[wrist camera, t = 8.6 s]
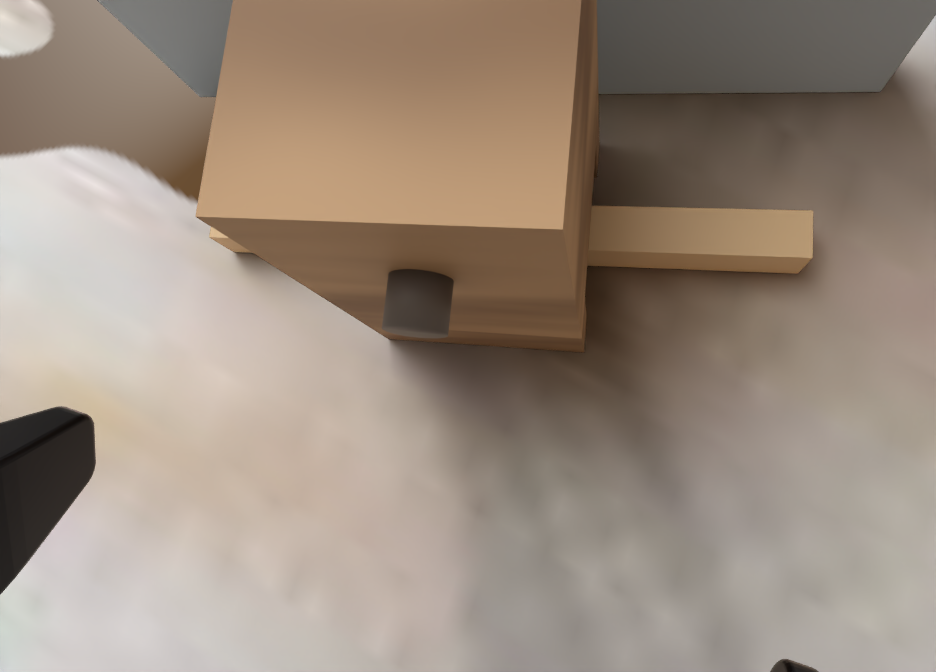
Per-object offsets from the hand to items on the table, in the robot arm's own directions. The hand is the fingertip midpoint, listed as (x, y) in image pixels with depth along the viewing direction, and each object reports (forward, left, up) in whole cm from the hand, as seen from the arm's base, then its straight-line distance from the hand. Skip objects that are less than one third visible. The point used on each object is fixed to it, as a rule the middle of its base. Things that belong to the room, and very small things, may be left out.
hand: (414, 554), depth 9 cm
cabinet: (+8, 0, -10) cm, 13 cm away
